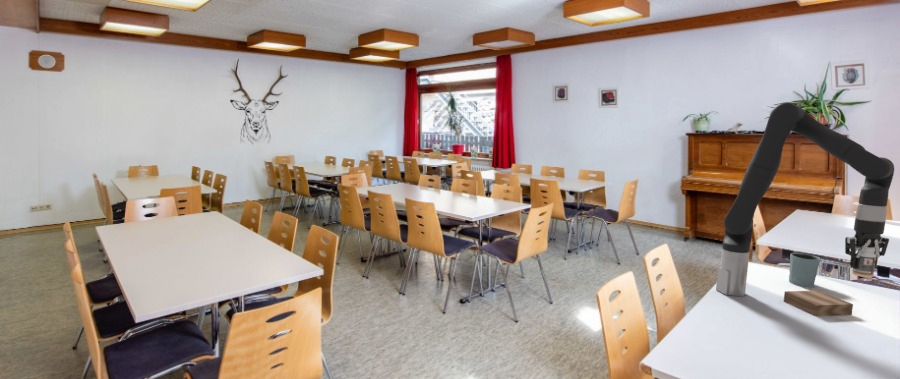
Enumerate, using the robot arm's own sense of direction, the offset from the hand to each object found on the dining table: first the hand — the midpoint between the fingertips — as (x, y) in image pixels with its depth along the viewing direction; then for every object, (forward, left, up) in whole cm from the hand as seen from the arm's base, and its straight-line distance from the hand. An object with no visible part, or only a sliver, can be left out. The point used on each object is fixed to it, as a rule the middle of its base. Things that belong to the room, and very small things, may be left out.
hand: (862, 267), depth 160 cm
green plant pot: (+16, +39, -19) cm, 46 cm away
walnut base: (-2, +13, -19) cm, 23 cm away
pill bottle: (0, 0, -3) cm, 3 cm away
